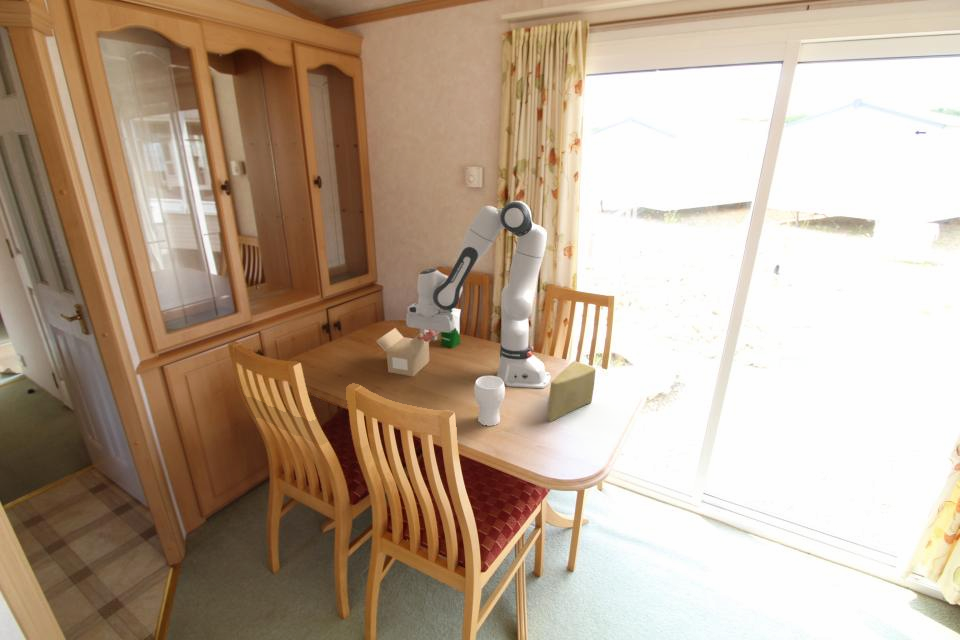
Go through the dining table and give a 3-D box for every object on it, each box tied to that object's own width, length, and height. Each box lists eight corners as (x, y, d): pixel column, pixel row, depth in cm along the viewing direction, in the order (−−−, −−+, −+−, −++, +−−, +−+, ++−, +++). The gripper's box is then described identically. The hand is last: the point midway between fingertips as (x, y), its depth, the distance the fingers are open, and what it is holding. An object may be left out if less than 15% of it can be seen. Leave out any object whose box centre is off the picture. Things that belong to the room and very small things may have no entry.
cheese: (560, 427, 149) (563, 388, 143) (537, 416, 155) (539, 378, 150) (593, 402, 164) (596, 367, 159) (570, 393, 170) (573, 359, 165)
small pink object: (428, 340, 193) (442, 340, 191) (412, 354, 179) (427, 354, 177) (426, 325, 191) (440, 325, 189) (410, 338, 177) (424, 338, 175)
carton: (429, 361, 197) (428, 340, 194) (413, 376, 183) (412, 354, 179) (405, 357, 201) (404, 337, 197) (388, 372, 186) (386, 351, 183)
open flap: (386, 350, 183) (385, 351, 184) (403, 337, 197) (402, 338, 197) (377, 340, 183) (375, 341, 183) (395, 327, 197) (394, 328, 197)
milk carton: (438, 345, 214) (437, 307, 207) (448, 339, 221) (448, 302, 214) (452, 349, 209) (452, 310, 203) (463, 343, 217) (462, 305, 210)
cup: (467, 419, 152) (467, 381, 147) (488, 408, 159) (489, 371, 154) (489, 432, 145) (489, 393, 140) (510, 420, 152) (511, 382, 147)
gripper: (455, 308, 179) (455, 339, 183) (410, 303, 185) (412, 333, 189) (449, 313, 173) (449, 345, 178) (403, 307, 179) (405, 338, 184)
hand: (430, 339), depth 184 cm, fingers open, 3 cm apart
